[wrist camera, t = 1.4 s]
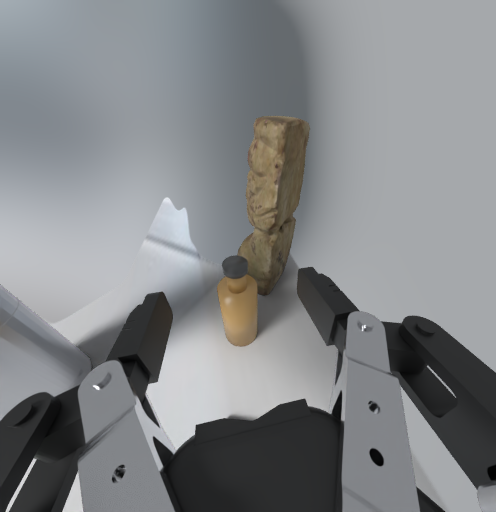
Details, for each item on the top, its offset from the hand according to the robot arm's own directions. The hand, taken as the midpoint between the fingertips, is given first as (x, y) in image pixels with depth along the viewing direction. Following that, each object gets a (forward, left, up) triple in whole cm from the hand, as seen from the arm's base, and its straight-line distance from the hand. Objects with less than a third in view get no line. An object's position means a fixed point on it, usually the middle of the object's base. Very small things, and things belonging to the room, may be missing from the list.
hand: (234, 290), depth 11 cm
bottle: (-3, +10, -21) cm, 23 cm away
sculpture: (+1, +24, -21) cm, 32 cm away
